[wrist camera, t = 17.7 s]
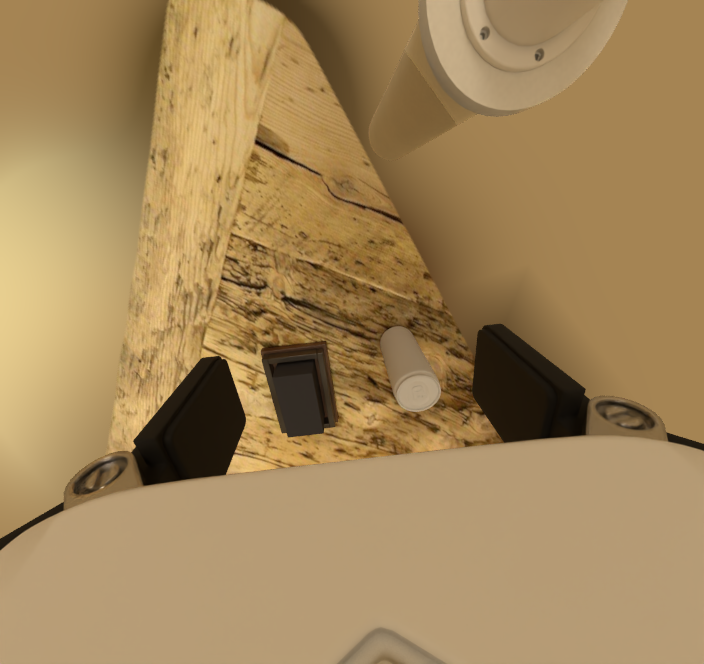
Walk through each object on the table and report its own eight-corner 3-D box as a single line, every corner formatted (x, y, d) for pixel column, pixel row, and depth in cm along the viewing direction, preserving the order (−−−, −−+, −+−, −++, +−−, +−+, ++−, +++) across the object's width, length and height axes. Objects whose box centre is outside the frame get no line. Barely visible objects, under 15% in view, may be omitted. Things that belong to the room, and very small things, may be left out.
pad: (277, 361, 39) (271, 377, 36) (314, 357, 39) (312, 373, 36) (291, 417, 44) (287, 437, 40) (324, 413, 44) (323, 433, 40)
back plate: (262, 348, 40) (257, 357, 37) (326, 340, 40) (325, 349, 37) (282, 423, 45) (279, 435, 43) (338, 417, 45) (338, 429, 43)
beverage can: (383, 359, 41) (401, 417, 30) (375, 330, 39) (389, 382, 28) (416, 349, 41) (445, 405, 30) (409, 319, 39) (437, 368, 28)
